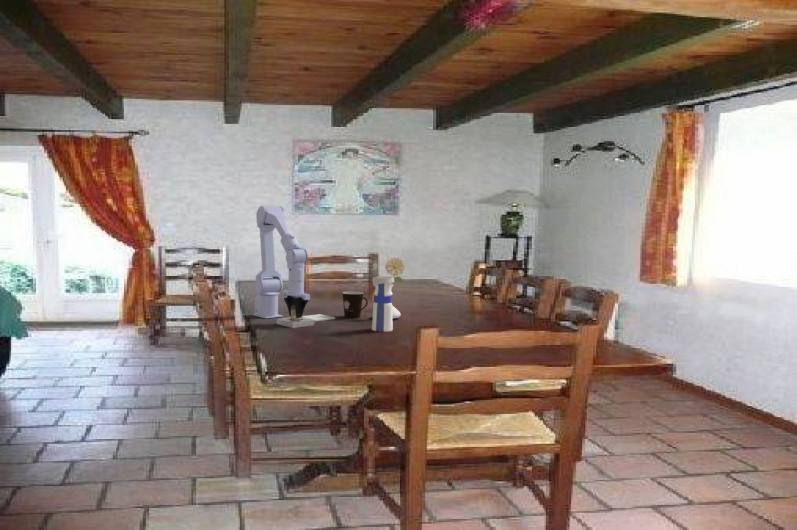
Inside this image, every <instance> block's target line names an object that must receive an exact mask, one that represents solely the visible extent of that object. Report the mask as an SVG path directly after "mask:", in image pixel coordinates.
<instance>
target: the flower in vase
mask: <svg viewBox="0 0 797 530" xmlns="http://www.w3.org/2000/svg"><path fill="white" fill-rule="evenodd" d="M384 266H385V267H384V269H385V270H386V274H389V275H391V276H392V277H393V278H394V282H395V283H402V282H404V279H403V278H402V277H401V276H399V275H402V274H404V271H405V270H406V265H405V263H404V260H403V259H401V258H399V257H398V258H397V257H394V258H392V257H391V259H388V260H387V261H386V264H385V265H384ZM393 287H394V284H392V285H391V290H392V288H393ZM392 307H393V314H392V320H394V319H397V318H400V317H401V315H402V314H401V312H400V311H399V310H398V309H397V308H396V307H395V306H394V305H393V304H392Z"/></svg>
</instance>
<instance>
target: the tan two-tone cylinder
mask: <svg viewBox="0 0 797 530" xmlns="http://www.w3.org/2000/svg"><path fill="white" fill-rule="evenodd" d="M290 317H291V320H293V321H297V320H301V318H296V310H295V305H294V306H291V316H290Z"/></svg>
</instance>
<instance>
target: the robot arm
mask: <svg viewBox="0 0 797 530" xmlns="http://www.w3.org/2000/svg"><path fill="white" fill-rule="evenodd" d="M255 217H256V227H257V228H258V229H259V240H260V254H261V255H260V256H261V269H262V270H260V271H259V272H258V273H257V274H256V275H255V283H254V289H255V292H256V294H257V295H256V296H255V300H254V313H253V314H252V316H254V317H257V318H258V317H259V318H261V319H262V318H263V319H271V318H283V314H279V295H280V294H281V292H282V296H283V297H284V298H283V300H284V302H285V304H286V307H287V310H288V314H289V317H291V306H294V305H295V310H296V318H302V316H304V315H303V314H304V310H305V308H306V305H307V304H308V302H309V300H311V295H310V293H306V292H305V264H306V263H307V262H308V256H309V255H308V251H307V249H306V248H304V247H302V246H301V245H300V243H299V242H298V239H297V237H296V235H295V234H294V233H291V231H290V230H289V227H288V224H287V221H286V217H287V213H286V211H285V208H284V207H283V206H267V205H266V206H265V205H260V206H259V207H258V209H257V210H256V216H255ZM274 229H276V230H277V232H278V234H279V236H280V237H281V238H280V243H281V245H282V248H283V249H284V252H285V261H286V265H287V269H288V290H287V289H286V290H284V289H283V286H284V283H283V280H282V274H281V273H280V272H278V271H277V270H276V263H275V261H276V260H275V245H274Z"/></svg>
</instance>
